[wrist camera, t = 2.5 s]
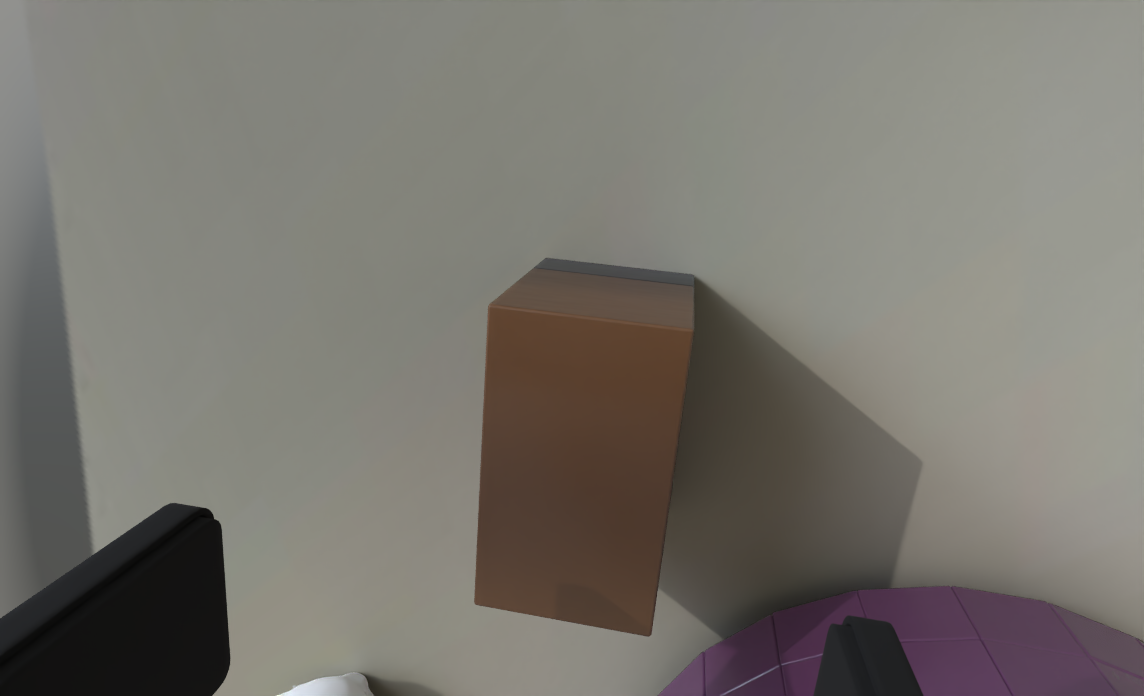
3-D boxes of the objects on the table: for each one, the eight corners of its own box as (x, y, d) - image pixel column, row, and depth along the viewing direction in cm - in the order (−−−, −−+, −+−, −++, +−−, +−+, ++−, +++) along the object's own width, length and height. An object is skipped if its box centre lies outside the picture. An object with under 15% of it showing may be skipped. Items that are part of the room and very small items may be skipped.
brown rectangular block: (544, 257, 19) (487, 304, 14) (694, 274, 18) (694, 330, 13) (528, 488, 21) (473, 605, 16) (662, 510, 20) (650, 638, 15)
